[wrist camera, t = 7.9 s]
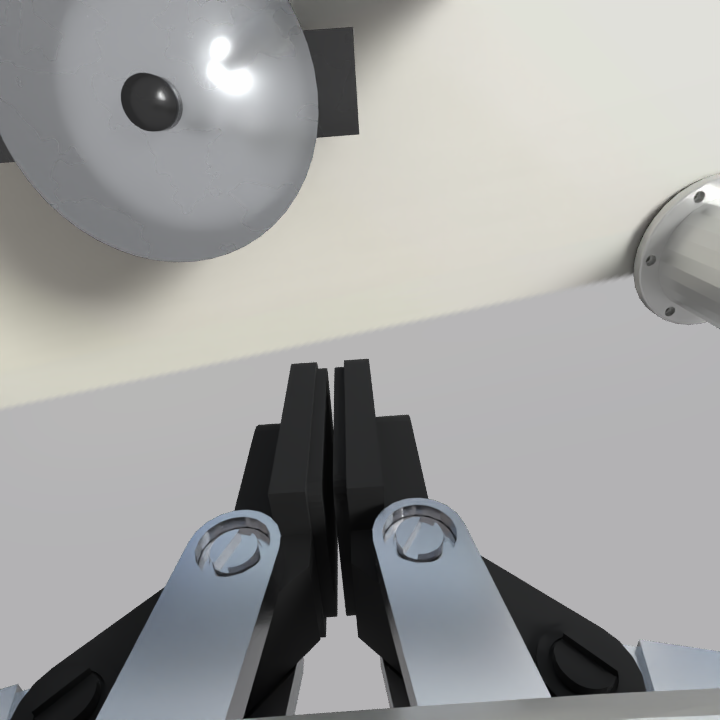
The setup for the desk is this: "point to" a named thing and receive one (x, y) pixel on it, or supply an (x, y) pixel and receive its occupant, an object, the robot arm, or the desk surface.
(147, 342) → the desk surface
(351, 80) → the pot
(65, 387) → the desk surface
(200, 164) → the lid
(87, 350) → the desk surface
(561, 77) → the desk surface
